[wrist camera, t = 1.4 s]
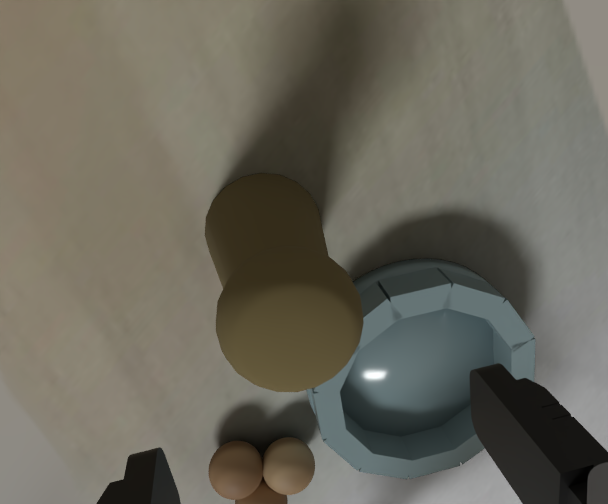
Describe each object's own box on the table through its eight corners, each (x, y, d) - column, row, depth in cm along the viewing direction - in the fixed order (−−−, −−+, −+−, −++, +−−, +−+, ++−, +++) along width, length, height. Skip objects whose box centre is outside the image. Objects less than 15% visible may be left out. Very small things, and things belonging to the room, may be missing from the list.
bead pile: (195, 448, 31) (194, 490, 28) (280, 399, 31) (287, 436, 28) (250, 508, 34) (254, 552, 31) (329, 463, 34) (341, 503, 31)
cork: (299, 155, 26) (358, 231, 15) (335, 258, 28) (406, 381, 18) (184, 198, 25) (170, 304, 15) (231, 299, 28) (245, 445, 18)
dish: (285, 287, 28) (294, 316, 25) (508, 236, 29) (541, 258, 26) (320, 462, 33) (331, 502, 30) (507, 413, 35) (535, 447, 32)
